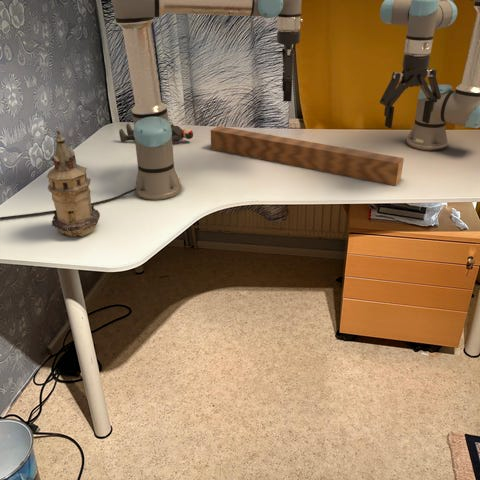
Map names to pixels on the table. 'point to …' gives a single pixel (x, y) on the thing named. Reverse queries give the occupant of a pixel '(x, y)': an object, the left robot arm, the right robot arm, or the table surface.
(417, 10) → the right robot arm
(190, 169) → the table surface
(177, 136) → the toy
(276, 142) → the beam
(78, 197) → the miniature building
